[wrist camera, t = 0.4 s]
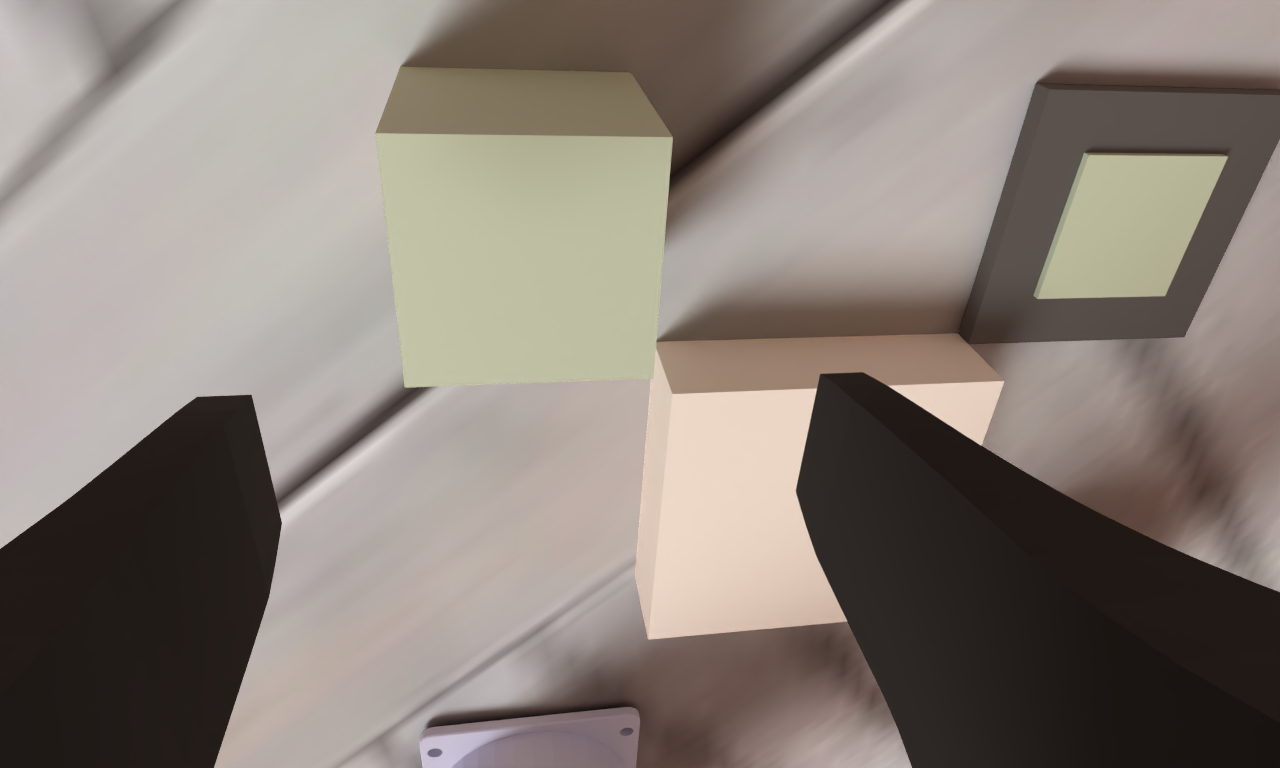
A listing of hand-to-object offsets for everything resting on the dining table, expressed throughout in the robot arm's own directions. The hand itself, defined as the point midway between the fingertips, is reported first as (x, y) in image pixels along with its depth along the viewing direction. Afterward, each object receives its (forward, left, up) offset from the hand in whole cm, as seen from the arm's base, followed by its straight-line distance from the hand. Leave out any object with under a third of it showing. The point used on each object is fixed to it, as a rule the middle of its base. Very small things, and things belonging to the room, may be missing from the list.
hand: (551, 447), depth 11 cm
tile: (-1, -16, -10) cm, 19 cm away
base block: (-9, -8, -11) cm, 16 cm away
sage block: (0, 0, -10) cm, 10 cm away
